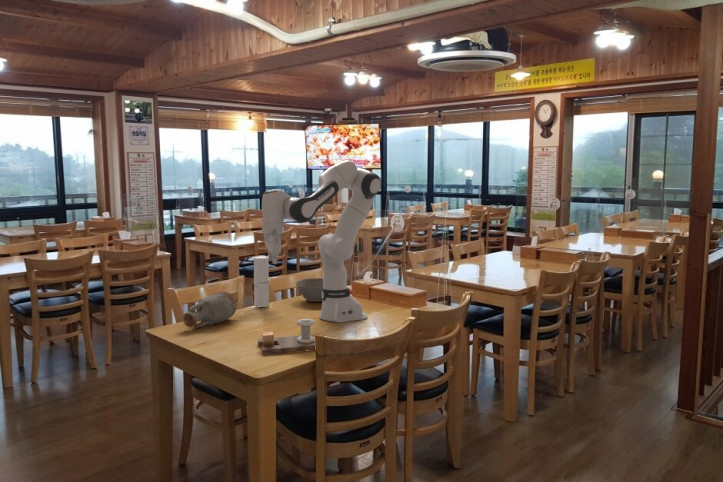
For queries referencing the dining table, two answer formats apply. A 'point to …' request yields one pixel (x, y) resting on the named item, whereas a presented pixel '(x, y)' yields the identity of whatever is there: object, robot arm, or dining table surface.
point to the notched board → (286, 345)
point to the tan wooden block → (267, 339)
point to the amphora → (211, 310)
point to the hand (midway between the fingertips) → (272, 261)
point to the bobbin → (305, 330)
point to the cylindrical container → (261, 281)
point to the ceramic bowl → (311, 289)
